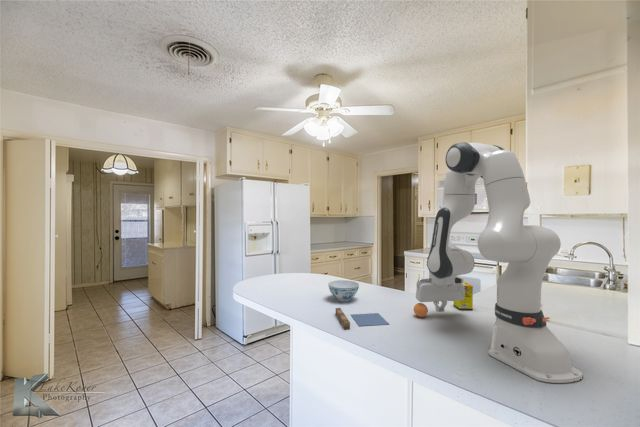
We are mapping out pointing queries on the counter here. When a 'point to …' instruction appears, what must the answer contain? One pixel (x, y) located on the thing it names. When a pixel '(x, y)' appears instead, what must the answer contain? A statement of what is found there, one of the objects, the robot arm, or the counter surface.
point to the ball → (420, 309)
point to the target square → (369, 319)
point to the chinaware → (343, 289)
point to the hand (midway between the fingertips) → (440, 311)
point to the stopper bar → (342, 318)
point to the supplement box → (466, 298)
